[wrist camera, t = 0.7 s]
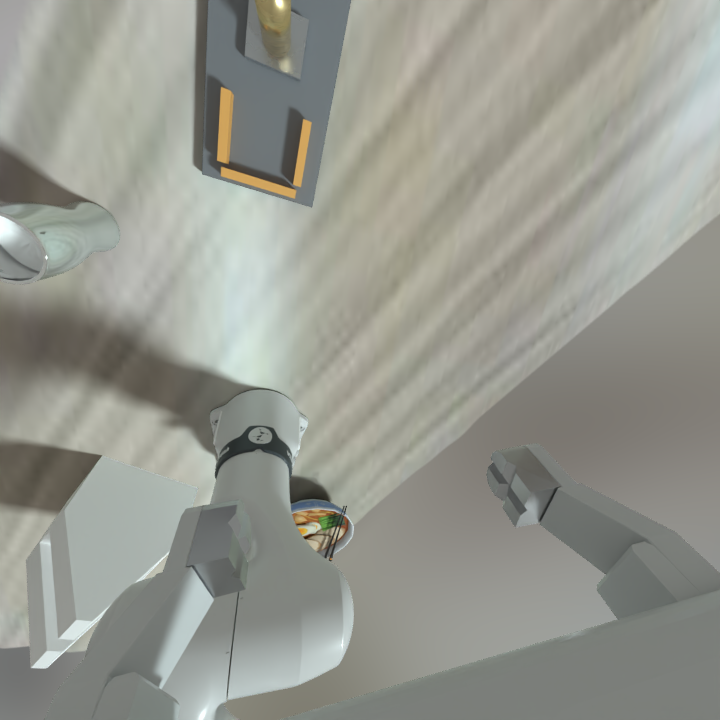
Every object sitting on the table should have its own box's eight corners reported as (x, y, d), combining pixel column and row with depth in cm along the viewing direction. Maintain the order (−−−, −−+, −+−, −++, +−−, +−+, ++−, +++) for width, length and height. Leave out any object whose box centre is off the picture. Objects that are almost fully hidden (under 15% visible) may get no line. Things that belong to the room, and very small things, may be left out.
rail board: (311, 206, 43) (313, 208, 40) (205, 174, 39) (198, 173, 36) (356, -32, 33) (362, -53, 30) (216, -112, 28) (207, -146, 25)
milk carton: (67, 500, 62) (-48, 665, 41) (102, 455, 58) (-6, 612, 37) (162, 524, 71) (108, 670, 50) (198, 487, 67) (156, 627, 46)
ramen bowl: (267, 477, 69) (264, 509, 63) (360, 478, 76) (367, 508, 69) (255, 539, 81) (252, 573, 74) (337, 536, 88) (341, 566, 81)
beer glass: (103, 191, 38) (9, 196, 25) (135, 247, 42) (68, 276, 29) (46, 204, 37) (-78, 216, 25) (84, 259, 41) (-7, 294, 29)
